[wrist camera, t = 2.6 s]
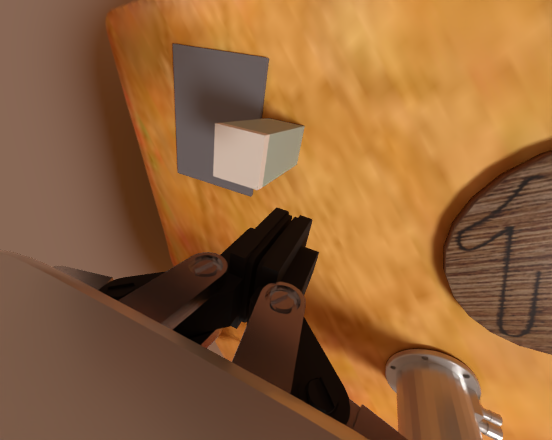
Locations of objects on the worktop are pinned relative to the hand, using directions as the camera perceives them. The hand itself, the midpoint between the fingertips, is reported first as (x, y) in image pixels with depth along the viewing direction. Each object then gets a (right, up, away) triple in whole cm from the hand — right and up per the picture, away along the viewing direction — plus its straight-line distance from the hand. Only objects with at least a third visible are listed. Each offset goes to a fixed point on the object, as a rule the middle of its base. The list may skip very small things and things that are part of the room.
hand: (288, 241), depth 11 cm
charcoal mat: (-9, +15, +24) cm, 30 cm away
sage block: (0, +11, +21) cm, 24 cm away
